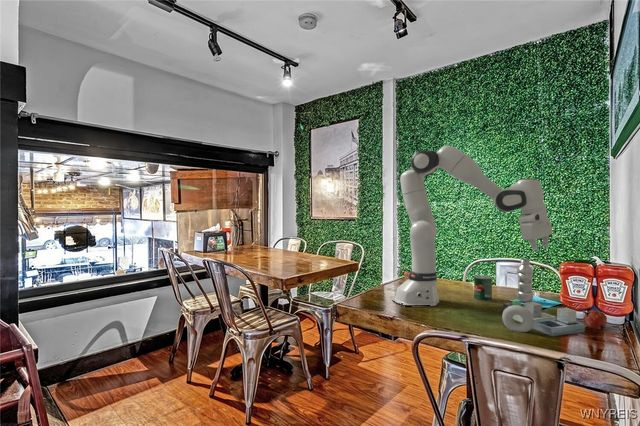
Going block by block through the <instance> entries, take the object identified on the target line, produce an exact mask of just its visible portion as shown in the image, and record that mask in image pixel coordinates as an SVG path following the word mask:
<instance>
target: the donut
mask: <svg viewBox="0 0 640 426" xmlns="http://www.w3.org/2000/svg"><path fill="white" fill-rule="evenodd" d="M502 311H503V310H502ZM514 315H520V316H521V317H522V318H523V322H519V323H518V322H515V320H514V319H512V318H513V316H514ZM501 317H502V323H503V324H504V326H505V327H506V328H507V329H508V330H510V331H511V332H518V333H528V332H529V331H531V330H532V329H533V324H534V320H533V316H532V314H531V313H530V312H529V311H528V310H527V309H526V308H524V307H522V306H519V305H512V306H509V307H507V308H506V309H505V310H504V311H503V312H502V316H501Z"/></svg>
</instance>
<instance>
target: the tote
mask: <svg viewBox="0 0 640 426" xmlns="http://www.w3.org/2000/svg"><path fill="white" fill-rule="evenodd" d="M512 319H513V321H517V322H519V323H522V322H523V318H522V317H521V316H520V315H514V316H513V318H512ZM549 319H557V316H555V315H552V314H549V313H546V312H543V311H542V318H535V319H533V320H534V321H541V320H549Z"/></svg>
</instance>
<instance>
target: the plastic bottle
mask: <svg viewBox="0 0 640 426" xmlns="http://www.w3.org/2000/svg"><path fill="white" fill-rule="evenodd" d="M530 262H531V261H530V259H525V258H523V259H522V258H521V259H520V265H519V266H518V267H517V269H516V272H517V273H516V275H517V280H518V283H517V284H518V287H517V291H516V297H517V298H516V299H517V301H521V302H523V303H525V302H533V301H534V293H533V288H532V287H533V285H532V283H533V281H532V280H533V275H534V270H533V268H532V266H531V265H530V264H531V263H530Z"/></svg>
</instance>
